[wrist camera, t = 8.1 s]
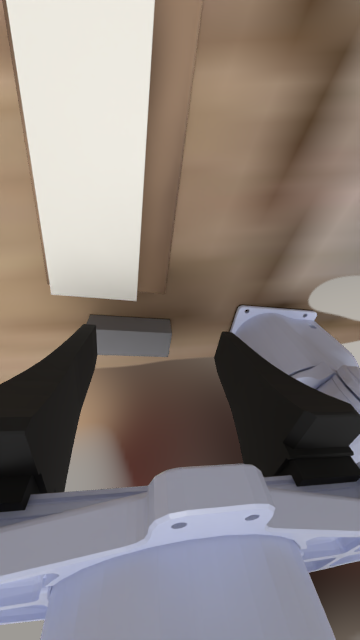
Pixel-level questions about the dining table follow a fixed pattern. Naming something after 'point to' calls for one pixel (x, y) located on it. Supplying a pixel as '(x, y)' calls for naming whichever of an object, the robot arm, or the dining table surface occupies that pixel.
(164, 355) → the block
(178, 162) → the peg stand
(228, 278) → the dining table surface
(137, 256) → the shelf board
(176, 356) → the dining table surface
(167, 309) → the dining table surface
